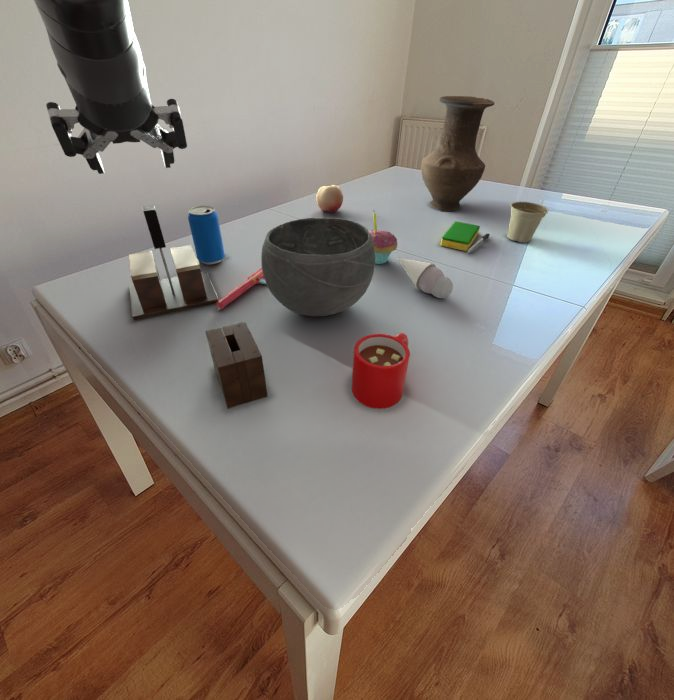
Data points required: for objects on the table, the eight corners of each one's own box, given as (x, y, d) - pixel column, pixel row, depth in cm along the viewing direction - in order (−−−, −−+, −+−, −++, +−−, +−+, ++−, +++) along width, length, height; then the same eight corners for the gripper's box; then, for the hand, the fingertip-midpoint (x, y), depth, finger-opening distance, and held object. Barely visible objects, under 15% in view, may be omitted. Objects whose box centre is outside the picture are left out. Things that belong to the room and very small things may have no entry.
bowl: (380, 288, 82) (387, 220, 73) (356, 345, 67) (361, 268, 57) (290, 274, 87) (286, 208, 77) (248, 324, 71) (236, 249, 62)
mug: (422, 370, 62) (430, 331, 57) (387, 416, 54) (394, 376, 49) (379, 353, 65) (384, 314, 60) (341, 393, 57) (343, 354, 52)
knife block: (227, 409, 55) (217, 367, 50) (215, 370, 61) (205, 330, 56) (267, 396, 57) (262, 355, 52) (251, 360, 63) (245, 321, 58)
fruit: (332, 205, 124) (333, 179, 119) (347, 212, 119) (348, 186, 114) (312, 209, 121) (311, 183, 116) (325, 217, 115) (325, 190, 110)
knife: (467, 258, 95) (469, 250, 94) (464, 257, 95) (466, 249, 94) (488, 240, 104) (490, 233, 103) (485, 239, 105) (487, 232, 103)
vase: (452, 220, 115) (477, 104, 96) (403, 204, 126) (417, 97, 107) (485, 207, 126) (514, 99, 107) (438, 193, 136) (456, 93, 118)
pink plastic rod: (292, 266, 91) (276, 257, 92) (294, 259, 90) (277, 250, 90) (230, 316, 74) (210, 305, 75) (231, 309, 73) (211, 296, 73)
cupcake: (357, 264, 91) (360, 215, 83) (364, 250, 97) (367, 203, 90) (393, 269, 89) (399, 219, 82) (397, 254, 96) (403, 206, 88)
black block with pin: (168, 296, 76) (143, 211, 66) (167, 289, 78) (142, 206, 68) (179, 294, 77) (155, 210, 66) (177, 287, 79) (154, 205, 68)
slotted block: (133, 321, 71) (118, 282, 66) (130, 289, 80) (117, 253, 75) (219, 303, 77) (211, 266, 71) (207, 275, 86) (199, 240, 80)
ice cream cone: (393, 272, 88) (444, 308, 81) (383, 264, 83) (436, 301, 76) (409, 250, 86) (462, 284, 80) (400, 240, 81) (456, 276, 74)
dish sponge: (478, 233, 108) (480, 225, 106) (466, 251, 98) (469, 242, 96) (453, 229, 110) (455, 220, 109) (439, 245, 101) (441, 237, 99)
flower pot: (515, 229, 111) (525, 199, 105) (544, 240, 105) (556, 209, 99) (494, 236, 107) (503, 204, 101) (523, 248, 100) (534, 215, 95)
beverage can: (226, 264, 90) (217, 213, 82) (197, 267, 89) (185, 215, 81) (225, 252, 95) (216, 204, 87) (198, 255, 93) (186, 206, 86)
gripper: (168, 34, 40) (180, 136, 56) (8, 30, 35) (68, 143, 51) (187, 99, 40) (193, 184, 55) (28, 104, 35) (83, 195, 50)
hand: (134, 164), depth 53 cm, fingers open, 8 cm apart
